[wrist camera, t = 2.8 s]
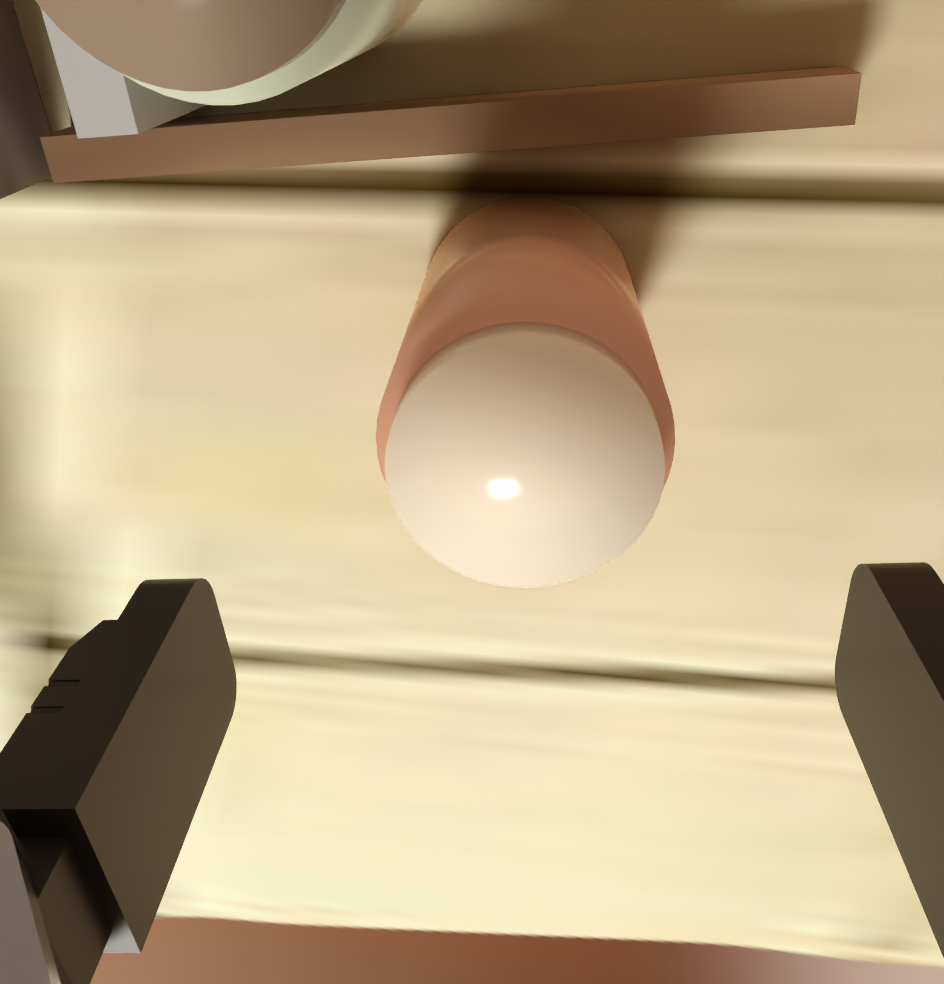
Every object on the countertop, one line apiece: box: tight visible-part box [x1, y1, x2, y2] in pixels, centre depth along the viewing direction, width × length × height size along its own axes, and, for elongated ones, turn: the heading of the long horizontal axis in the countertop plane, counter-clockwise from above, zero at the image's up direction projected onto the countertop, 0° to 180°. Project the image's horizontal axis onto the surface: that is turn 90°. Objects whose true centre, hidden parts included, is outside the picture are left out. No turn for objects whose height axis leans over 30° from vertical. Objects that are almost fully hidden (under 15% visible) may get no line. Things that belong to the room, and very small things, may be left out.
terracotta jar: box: [376, 197, 675, 588], centre depth 19 cm, size 5×5×9 cm
